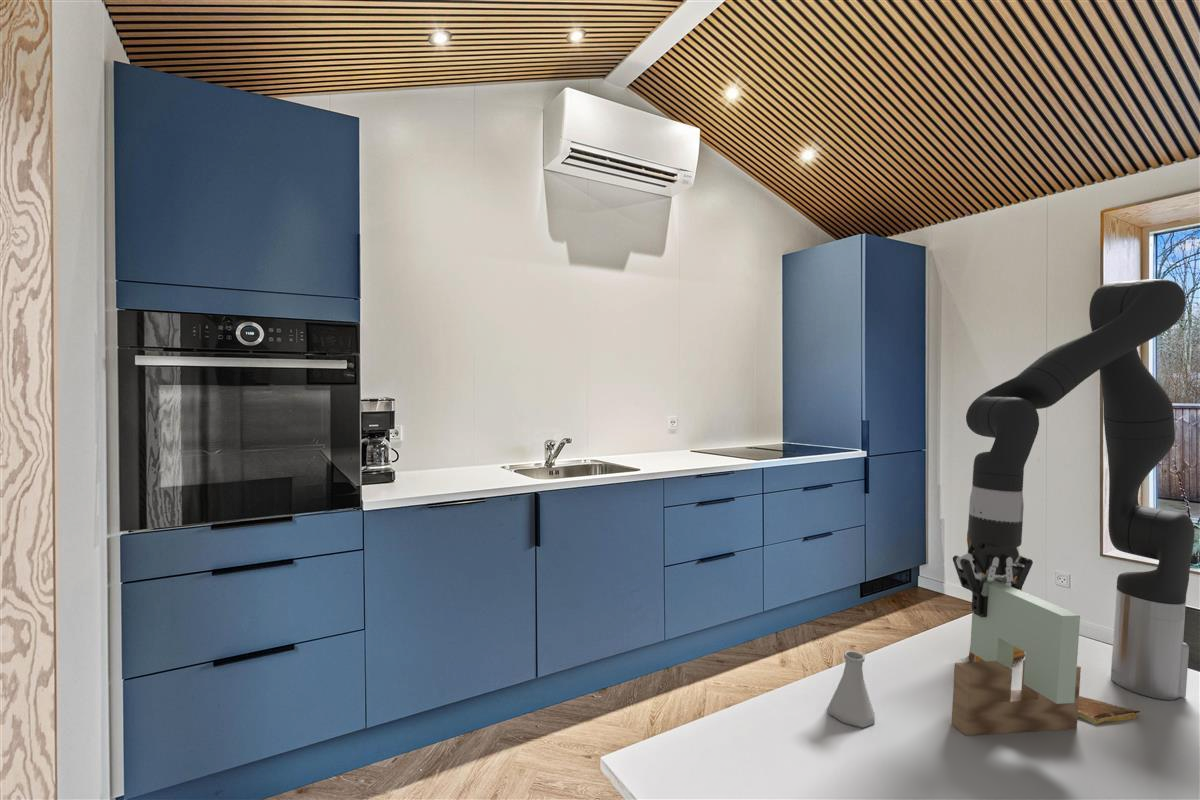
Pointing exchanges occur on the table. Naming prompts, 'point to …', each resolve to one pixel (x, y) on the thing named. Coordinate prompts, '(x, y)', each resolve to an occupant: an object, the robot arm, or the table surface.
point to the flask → (852, 694)
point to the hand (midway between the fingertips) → (989, 614)
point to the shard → (1103, 711)
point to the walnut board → (1004, 702)
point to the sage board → (1030, 639)
